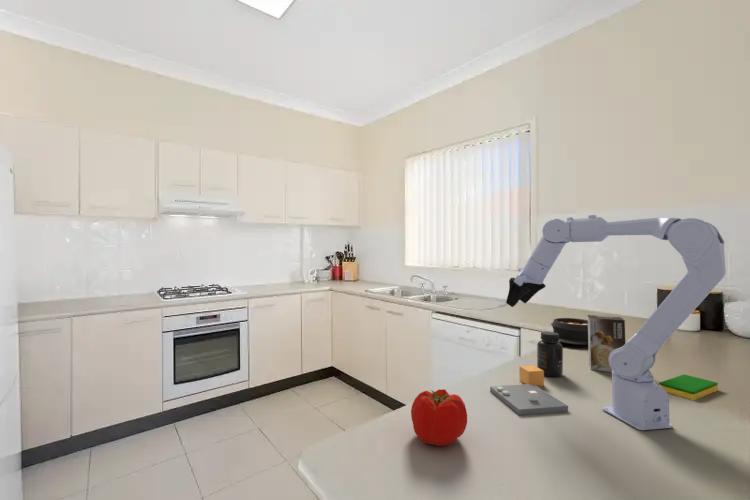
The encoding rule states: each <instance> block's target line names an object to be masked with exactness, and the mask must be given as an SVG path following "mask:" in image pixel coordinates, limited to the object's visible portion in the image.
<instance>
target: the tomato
mask: <svg viewBox="0 0 750 500" xmlns="http://www.w3.org/2000/svg"><path fill="white" fill-rule="evenodd" d="M430 391H431V392H430ZM410 414H411V416H410V417H411V421H412V422H411V423H412V427H413V430H414V434H416V436H417V437H418V438H419V440H420V441H421V442H423V443H425V444H426V445H432V446H438V447H445V446H448V445H452V444H453V443H454V442H455V441H456V440H457V439H459V438H460V437H461V436H462V435H463V434H464V432H465V430H466V428H467V424H468V413H467V408H466V404H465V402H464V400H463V399H462V398H461V396H459V395H458V394H455V393H454V394H450V393H449V392H448V391H447V390H446V389H437V390H435V391H434V390H432V389H431V390H429V391H428V390H424V391H422V392H420V393H418V395H417V396H416V397H415V398H414V400H413V402H412V406H411V409H410Z"/></svg>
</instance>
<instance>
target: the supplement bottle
mask: <svg viewBox="0 0 750 500" xmlns="http://www.w3.org/2000/svg"><path fill="white" fill-rule="evenodd" d="M540 339H541V340H539V341H538V342H537V343H536V345H537V346H536V350H537V351H536V358H537V360H536V367H538V368H540V369H541V370H543V371H544V377H552V378H560V377H561V376H563V373H564V351H563V350H564V347H563V345H562V343H561V342H558V341H559V334H558V333H554V331H541V332H540Z"/></svg>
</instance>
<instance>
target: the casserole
mask: <svg viewBox="0 0 750 500" xmlns="http://www.w3.org/2000/svg"><path fill="white" fill-rule="evenodd" d="M550 326H551V327H552V330H553V331H552V332H554V333H558V334H559V341H558V342H559V343H560V344H562V343H563V344H568V345H575V346H588V319H582V318H573V317H557V318H554V319H553V320H552V322H551V323H550Z"/></svg>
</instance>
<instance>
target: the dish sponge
mask: <svg viewBox="0 0 750 500" xmlns="http://www.w3.org/2000/svg"><path fill="white" fill-rule="evenodd" d="M658 384H659V386H660V387H662V388H664V389H665V390H666V391H667V393H668V394H671V395H675V396H678V397H680V398H681V397H682V398H685V399H688V400H691V401H696V400H698V399H701V398H703V397H705V395H706V396H708V395H710V393H711V394H713V393H715V392H718V390H719V386H718V384H719V382H716V381H713V380H709V379H704V378H700V377H696V376H692V375H689V374H681V375H677V376H674V377H671V378H668V379H666V380H663V381H660V382H658ZM712 392H713V393H712ZM707 394H708V395H707ZM700 397H701V398H700Z"/></svg>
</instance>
